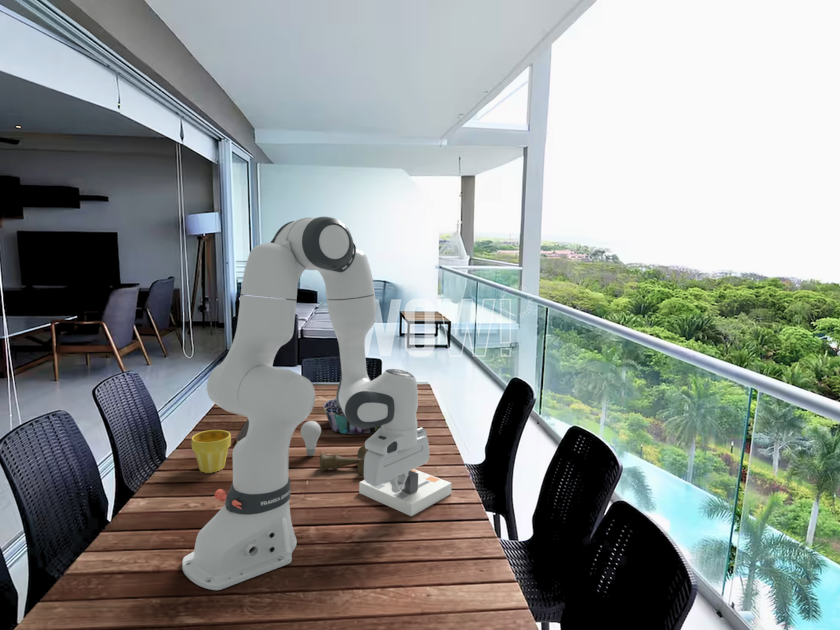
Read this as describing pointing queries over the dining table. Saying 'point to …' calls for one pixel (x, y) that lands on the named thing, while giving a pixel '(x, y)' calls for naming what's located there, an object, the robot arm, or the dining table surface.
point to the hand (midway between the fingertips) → (398, 490)
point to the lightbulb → (310, 436)
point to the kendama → (343, 461)
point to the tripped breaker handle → (411, 482)
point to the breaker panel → (407, 503)
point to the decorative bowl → (342, 420)
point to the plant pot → (211, 449)
